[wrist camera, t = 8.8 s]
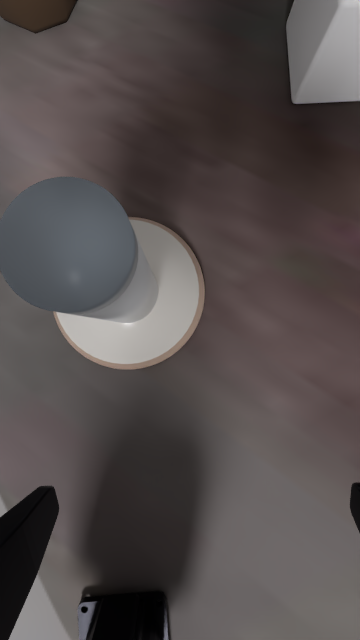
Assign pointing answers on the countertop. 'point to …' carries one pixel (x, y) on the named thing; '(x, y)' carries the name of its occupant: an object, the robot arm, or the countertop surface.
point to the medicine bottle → (324, 51)
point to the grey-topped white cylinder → (75, 252)
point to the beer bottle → (36, 13)
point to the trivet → (161, 323)
